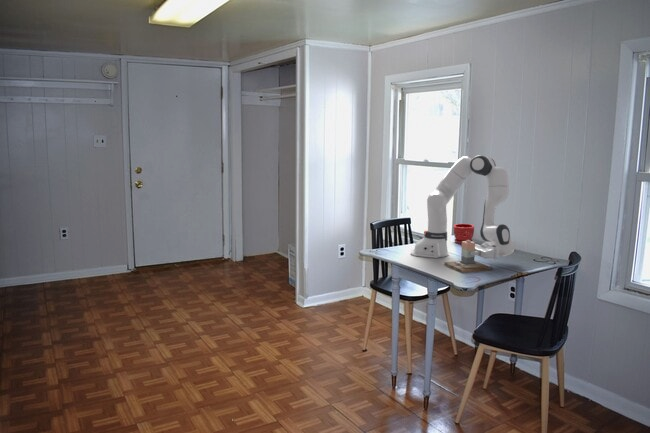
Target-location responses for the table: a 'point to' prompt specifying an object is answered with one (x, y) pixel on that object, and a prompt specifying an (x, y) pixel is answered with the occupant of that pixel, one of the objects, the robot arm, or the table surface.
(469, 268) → the socket board
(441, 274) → the table surface
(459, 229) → the plant pot
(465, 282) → the table surface
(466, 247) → the brick tower
